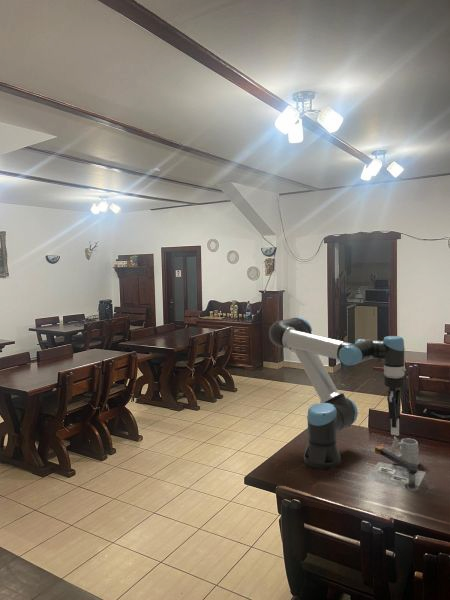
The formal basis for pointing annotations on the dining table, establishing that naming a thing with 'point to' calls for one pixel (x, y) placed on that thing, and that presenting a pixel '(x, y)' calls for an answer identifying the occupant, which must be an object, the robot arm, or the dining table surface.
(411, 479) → the grey metal knob
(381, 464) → the plate
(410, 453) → the mug
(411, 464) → the grey lever orange grip
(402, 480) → the label right
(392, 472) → the label left
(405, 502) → the dining table surface
